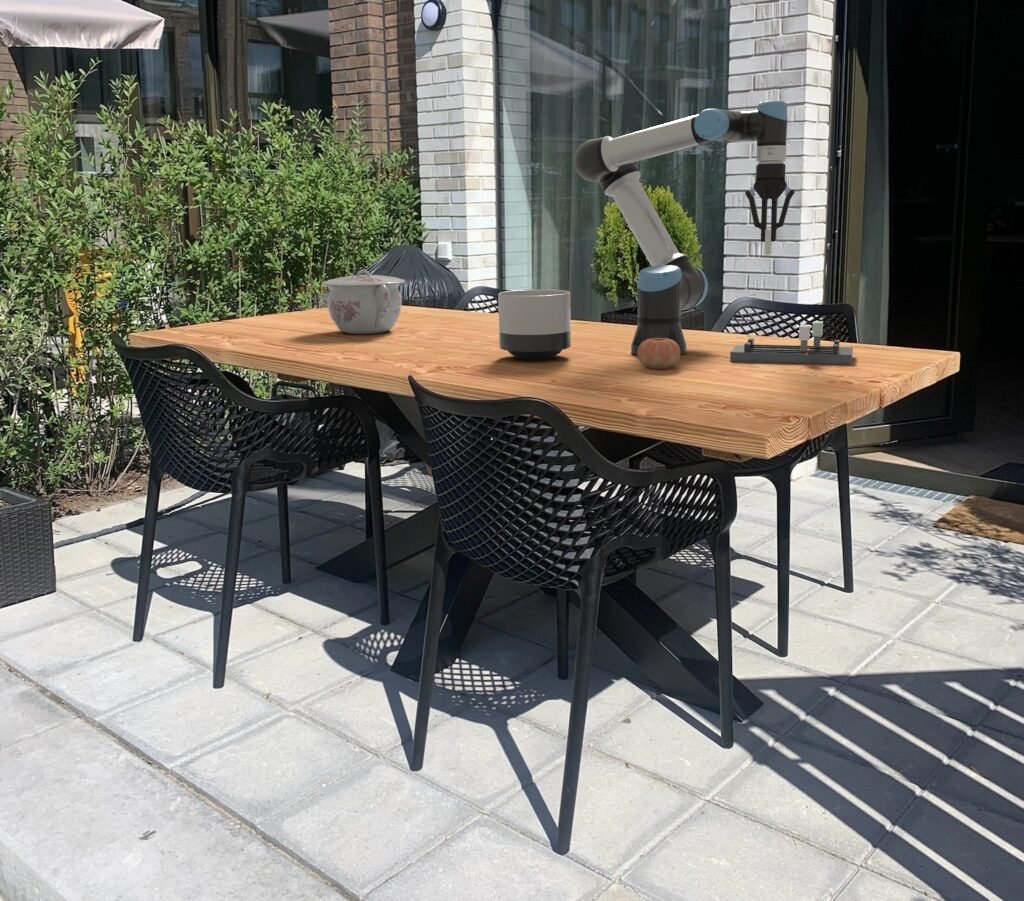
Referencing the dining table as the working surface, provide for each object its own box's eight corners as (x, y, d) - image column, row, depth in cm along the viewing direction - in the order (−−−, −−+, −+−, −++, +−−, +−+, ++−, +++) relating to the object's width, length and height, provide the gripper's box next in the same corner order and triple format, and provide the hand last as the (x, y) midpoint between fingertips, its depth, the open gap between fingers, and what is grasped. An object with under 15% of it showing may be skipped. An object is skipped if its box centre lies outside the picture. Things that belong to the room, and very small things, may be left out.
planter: (579, 353, 299) (578, 289, 295) (559, 364, 282) (558, 296, 278) (513, 352, 306) (511, 289, 302) (489, 362, 288) (487, 295, 284)
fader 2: (811, 347, 282) (812, 322, 280) (812, 345, 286) (813, 321, 284) (821, 348, 281) (822, 323, 280) (821, 345, 285) (823, 321, 283)
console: (729, 362, 278) (729, 345, 277) (736, 353, 293) (737, 337, 292) (850, 366, 269) (851, 348, 268) (852, 356, 284) (853, 339, 283)
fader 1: (798, 351, 275) (799, 326, 274) (799, 349, 279) (800, 324, 278) (808, 352, 275) (809, 326, 273) (809, 349, 278) (810, 324, 277)
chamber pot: (338, 327, 374) (334, 266, 369) (415, 326, 370) (413, 265, 366) (312, 337, 347) (308, 272, 343) (396, 337, 343) (393, 271, 339)
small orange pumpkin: (669, 372, 265) (670, 340, 263) (629, 369, 271) (630, 338, 269) (687, 366, 274) (687, 335, 272) (648, 363, 280) (648, 333, 278)
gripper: (743, 163, 282) (741, 255, 287) (795, 162, 277) (791, 255, 283) (747, 164, 289) (744, 253, 294) (797, 162, 284) (794, 253, 290)
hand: (767, 254), depth 288 cm, fingers closed
